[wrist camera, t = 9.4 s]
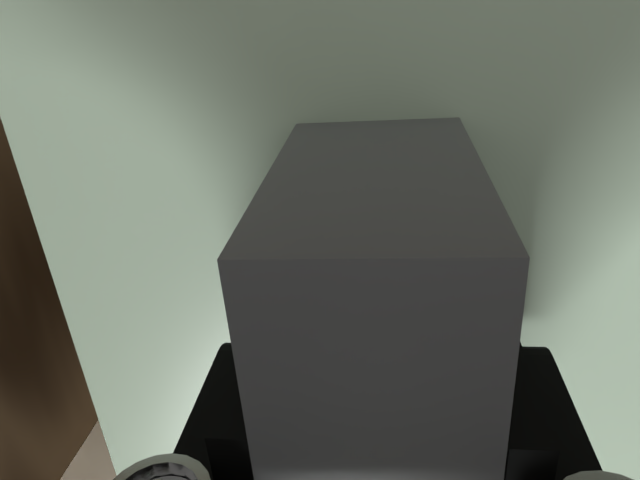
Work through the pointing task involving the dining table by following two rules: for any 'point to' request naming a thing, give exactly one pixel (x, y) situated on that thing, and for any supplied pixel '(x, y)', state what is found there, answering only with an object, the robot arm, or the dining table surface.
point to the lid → (338, 218)
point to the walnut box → (34, 349)
